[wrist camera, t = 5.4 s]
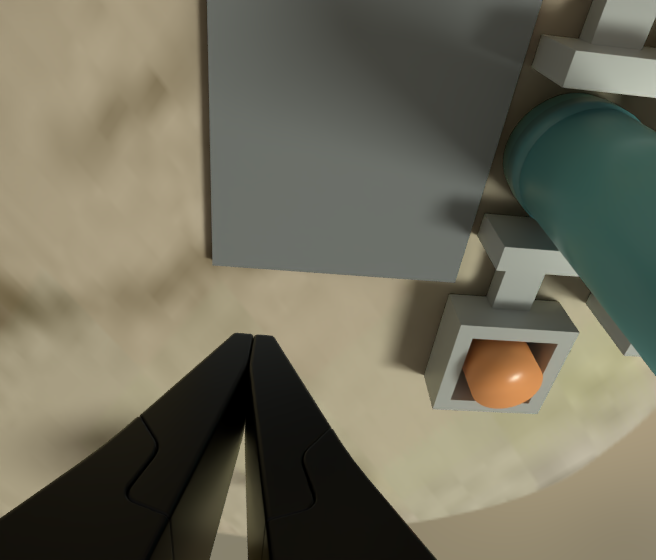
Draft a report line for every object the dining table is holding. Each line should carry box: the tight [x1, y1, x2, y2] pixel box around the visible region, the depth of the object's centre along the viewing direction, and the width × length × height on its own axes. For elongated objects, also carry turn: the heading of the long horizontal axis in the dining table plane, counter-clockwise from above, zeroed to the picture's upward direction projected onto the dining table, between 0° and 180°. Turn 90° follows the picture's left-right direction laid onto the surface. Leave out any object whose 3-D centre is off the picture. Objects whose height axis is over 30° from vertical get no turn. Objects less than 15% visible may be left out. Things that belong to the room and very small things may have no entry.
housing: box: [424, 0, 656, 414], centre depth 21 cm, size 12×28×4 cm, turn 174°
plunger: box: [462, 339, 543, 409], centre depth 27 cm, size 4×4×3 cm
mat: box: [207, 0, 543, 283], centre depth 21 cm, size 12×14×1 cm
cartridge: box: [503, 93, 656, 376], centre depth 17 cm, size 5×5×12 cm
